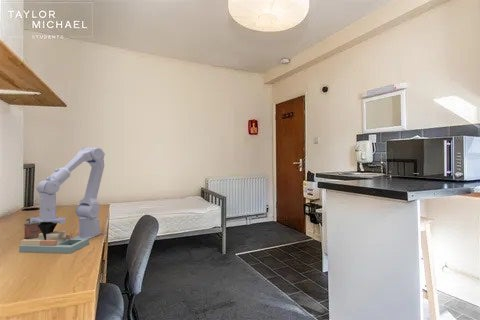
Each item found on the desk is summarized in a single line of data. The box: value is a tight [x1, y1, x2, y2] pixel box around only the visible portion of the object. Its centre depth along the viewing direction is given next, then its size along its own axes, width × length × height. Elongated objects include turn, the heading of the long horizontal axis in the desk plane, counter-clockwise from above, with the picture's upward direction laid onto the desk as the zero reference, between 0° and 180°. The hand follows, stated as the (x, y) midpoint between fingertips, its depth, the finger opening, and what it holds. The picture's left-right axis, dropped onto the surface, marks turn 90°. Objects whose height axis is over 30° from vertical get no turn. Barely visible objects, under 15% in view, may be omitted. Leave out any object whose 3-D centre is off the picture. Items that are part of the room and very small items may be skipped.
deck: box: [18, 233, 90, 254], centre depth 114 cm, size 12×22×4 cm, turn 86°
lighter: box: [23, 216, 42, 240], centre depth 129 cm, size 8×3×10 cm, turn 141°
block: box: [46, 230, 67, 244], centre depth 114 cm, size 5×5×4 cm
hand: (47, 239), depth 115 cm, fingers closed
